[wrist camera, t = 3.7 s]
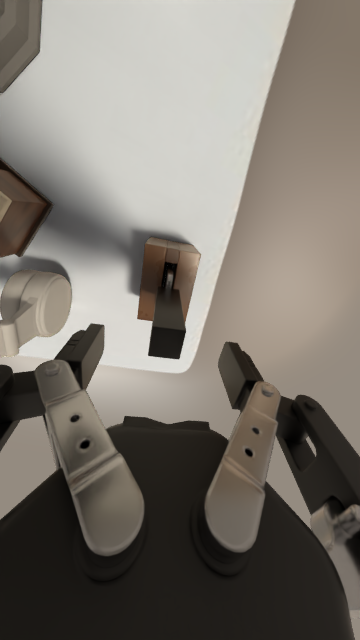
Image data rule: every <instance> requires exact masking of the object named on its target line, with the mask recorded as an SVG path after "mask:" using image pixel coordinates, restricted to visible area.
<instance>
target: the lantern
mask: <svg viewBox="0 0 360 640" xmlns="http://www.w3.org/2000/svg"><path fill="white" fill-rule="evenodd" d="M41 7H42V0H0V92H2V93H3V92H4V91H5V89H6V88H7V87H8V86H9V85H10V84H11V83H12V82H13V81H14V79H15V78H16V77H17V76H18V75H19V74H20V73H21V72H22V70H23V69H24V68H25V67H26V66H27V65H28V64H29V63H30V61H31V60H32V59H33V58H34V57H35V56H36V55H37V54H38V52H39V48H40V28H41Z"/></svg>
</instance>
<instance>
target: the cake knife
mask: <svg viewBox="0 0 360 640" xmlns="http://www.w3.org/2000/svg"><path fill="white" fill-rule="evenodd" d="M172 280H173V268H172V263H169V262H167V265H166V272H165V278H164V284H163V287H160V286H158V287H157V294H156V301H155V308H154V316H153V323H152V330H151V337H150V345H149V352H148V356H153V357H162V358H171V359H179V358H180V354H181V350H182V346H183V342H184V338H185V333H186V328H185V322H184V316H183V309H182V303H181V297H180V291H179V290H178V289H172V288H171V286H172Z"/></svg>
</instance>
